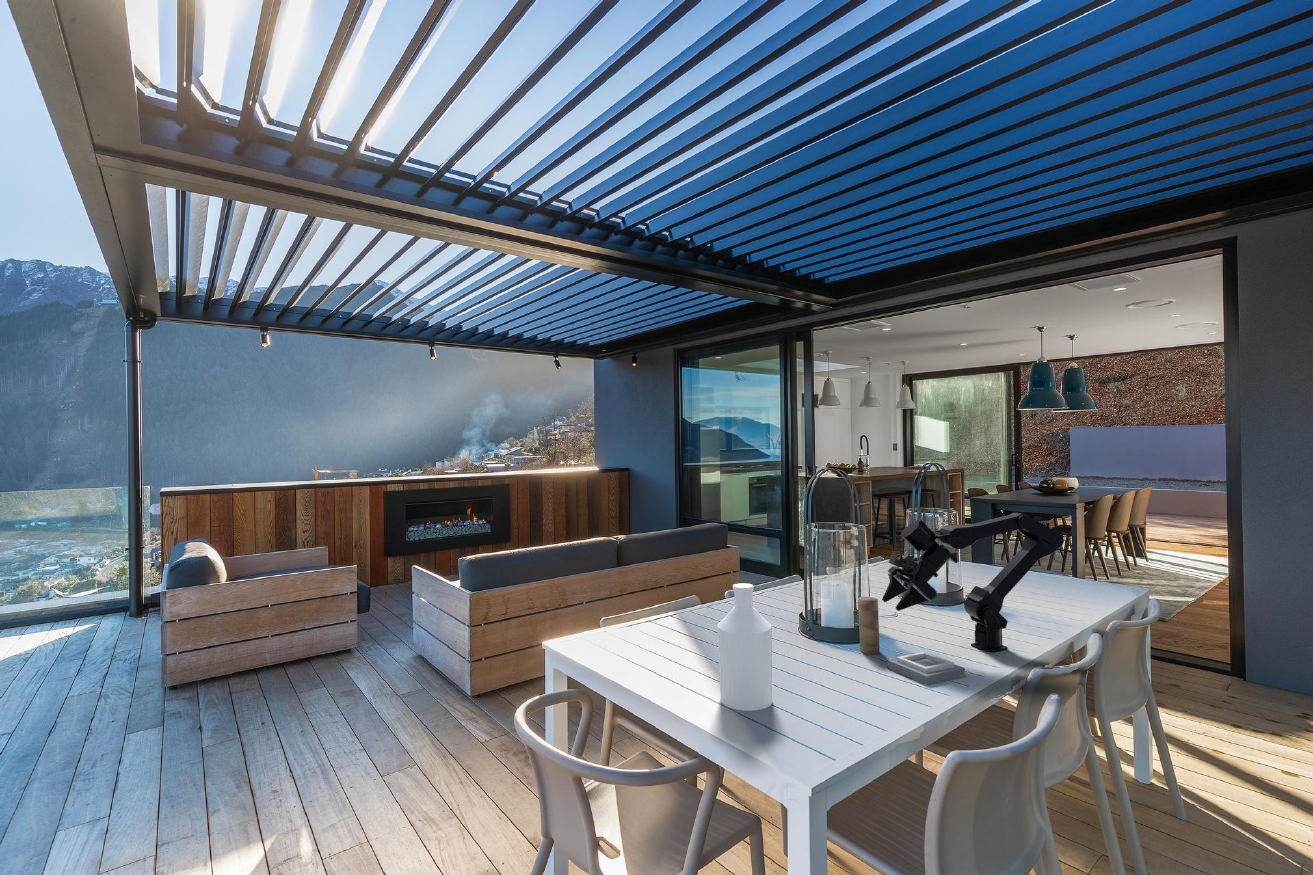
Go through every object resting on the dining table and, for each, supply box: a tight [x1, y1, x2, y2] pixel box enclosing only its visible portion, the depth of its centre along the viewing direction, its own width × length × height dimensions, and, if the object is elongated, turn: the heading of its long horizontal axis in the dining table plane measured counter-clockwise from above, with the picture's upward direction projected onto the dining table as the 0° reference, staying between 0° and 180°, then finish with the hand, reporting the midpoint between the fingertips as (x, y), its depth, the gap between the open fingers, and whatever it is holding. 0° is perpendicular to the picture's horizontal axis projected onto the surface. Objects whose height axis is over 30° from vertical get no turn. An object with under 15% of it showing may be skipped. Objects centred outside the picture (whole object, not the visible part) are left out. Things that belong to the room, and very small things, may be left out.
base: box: [887, 651, 966, 686], centre depth 147 cm, size 12×12×3 cm
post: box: [857, 596, 881, 655], centre depth 163 cm, size 5×5×14 cm
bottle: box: [716, 582, 774, 712], centre depth 134 cm, size 12×12×25 cm
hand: (889, 605), depth 163 cm, fingers open, 9 cm apart
